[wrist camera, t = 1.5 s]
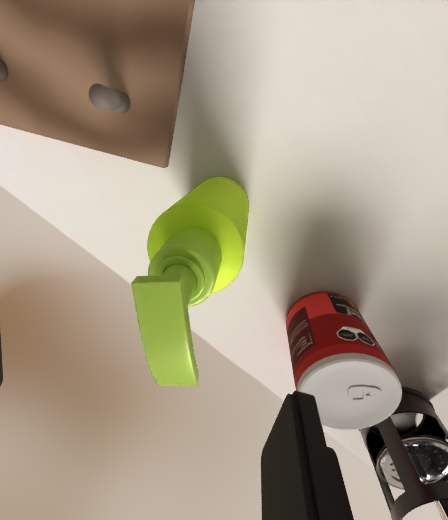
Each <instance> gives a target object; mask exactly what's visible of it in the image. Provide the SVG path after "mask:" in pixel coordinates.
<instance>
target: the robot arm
mask: <svg viewBox="0 0 448 520" xmlns="http://www.w3.org/2000/svg"><path fill="white" fill-rule="evenodd" d="M2 371H3V370H2V352H1V336H0V385H1V384H2V381H3V372H2ZM261 486H262V487H261V492H262V520H354V519H353V515H352V511H351V507H350V504H349V500H348V496H347V492H346V488H345V485H344V481H343V477H342V474H341V470H340V466H339V462H338V458H337V456H336V453H335V451H334V450H333V449H332V448H330V447H327V446H326V442H325V437H324V433H323V429H322V425H321V420H320V416H319V412H318V408H317V404H316V399H315V397H314V396H313V395H311V394H307V393H303V392H299V391H294V392H293V394H287V396H286V398H285V400H284V403H283V405H282V407H281V409H280V412H279V414H278V417H277V418H276V421H275V423H274V425H273V427H272V430H271V433H270V434H269V437H268V439H267V441H266V443H265V446H264V448H263V451H262V456H261Z"/></svg>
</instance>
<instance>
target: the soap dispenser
mask: <svg viewBox="0 0 448 520" xmlns="http://www.w3.org/2000/svg"><path fill="white" fill-rule="evenodd" d="M248 213H249V201H248V197H247V195H246V193H245V191H244V189H243V188H242V187H241V186H240V185H239V184H238V183H237V182H235V181H233V180H232V179H229V178H226V177H213V178H209V179H207V180H205V181H204V182H202V183H201V184H200V185H198V186H197V187H196V188H194V189H193V190H192V191H191V192H189V193H188V194H187V195H185V196H184V197H183V198H182V199H180V200H179V201H178V202H177V203H175V204H174V205H173V206H171V207H170V208H169V209H168V210H166V211H165V212H164V213H162V214H161V215H160V216H159V217H158V218H157V220H156V221H155V222H154V224H153V226H152V228H151V230H150V233H149V236H148V243H147V249H148V256H149V259H150V264H149V268H148V276H137V277H136V278H135V279H134V280H133V282H132V289H133V295H134V301H135V306H136V312H137V318H138V322H139V328H140V333H141V338H142V342H143V347H144V350H145V354H146V357H147V361H148V364H149V366H150V369H151V372H152V374H153V377H154V379H155V381H156V383H157V385H161V386H198V369H197V365H196V360H195V355H194V350H193V343H192V337H191V329H190V322H189V314H188V307H189V306H194V305H197V304H199V303H201V302H203V301H204V300H205V299H207V298H208V296H209V295H210V294H212V293H215V292H218V291H220V290H222V289H224V288H225V287H227V286H228V285H229V284H230V283H231V282H232V281H233V280H234V279H235V278H236V276H237V275H238V273H239V271H240V269H241V267H242V264H243V259H244V250H245V241H246V231H247V222H248Z"/></svg>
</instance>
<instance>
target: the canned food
mask: <svg viewBox="0 0 448 520" xmlns="http://www.w3.org/2000/svg"><path fill="white" fill-rule="evenodd" d="M286 329H287V335H288V342H289V348H290V355H291V362H292V368H293V375H294V381H295V387H296V391H299V392H303V393H307V394H311V395H313V396H314V397H315V399H316V404H317V408H318V412H319V416H320V420H321V425H323V426H325V427H329V428H332V429H339V430H355V429H362V428H366V427H370V426H373V425H375V424H378V423H380V422H381V421H383V420H385V419H386V418H388V417H389V416H390V415H391V414H392V413H393V412H394V411H395V410H396V408H397V407H398V406H399V403H400V401H401V397H402V387H401V384H400V382H399V379H398V377H397V375H396V372H395V371H394V369H393V367H392V366H391V364H390V362H389V360H388V359H387V357H386V355H385V354H384V352H383V350H382V349H381V347H380V345H379V344H378V342H377V341H376V339H375V337H374V336H373V334H372V332H371V331H370V329H369V327H368V326H367V324H366V323H365V321H364V319H363V318H362V316H361V314H360V313H359V311H358V309H357V308H356V307H355V305H354V304H353V303H352V302H350V301H349V300H348V299H346V298H345V297H343V296H341V295H339V294H336V293H332V292H316V293H312V294H309V295H306V296H304V297H303V298H301V299H299V300H298V301H297V302H296V303H295V304H294V305H293V306H292V308H291V310H290V312H289V314H288V316H287V321H286Z"/></svg>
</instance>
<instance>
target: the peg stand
mask: <svg viewBox="0 0 448 520" xmlns="http://www.w3.org/2000/svg"><path fill="white" fill-rule="evenodd" d="M194 2H195V0H0V125H4V126H8V127H12V128H15V129H19V130H23V131H27V132H30V133H34V134H38V135H42V136H45V137H49V138H53V139H57V140H60V141H64V142H68V143H72V144H75V145H79V146H83V147H87V148H90V149H94V150H98V151H102V152H105V153H109V154H113V155H117V156H120V157H124V158H128V159H132V160H135V161H139V162H143V163H147V164H150V165H154V166H158V167H162V168H165V167H168V164H169V157H170V151H171V145H172V139H173V133H174V126H175V120H176V114H177V108H178V101H179V95H180V89H181V83H182V76H183V70H184V64H185V58H186V52H187V45H188V39H189V33H190V27H191V20H192V14H193V8H194Z"/></svg>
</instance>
